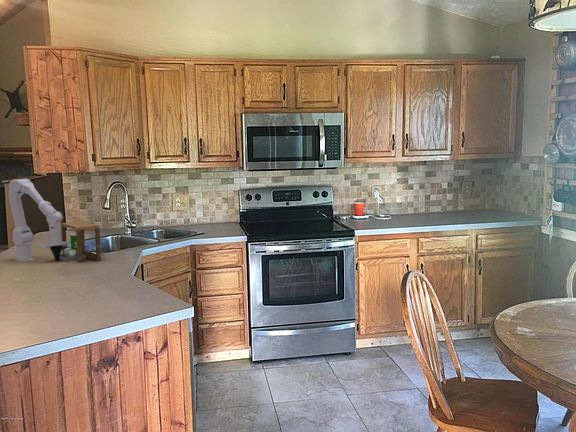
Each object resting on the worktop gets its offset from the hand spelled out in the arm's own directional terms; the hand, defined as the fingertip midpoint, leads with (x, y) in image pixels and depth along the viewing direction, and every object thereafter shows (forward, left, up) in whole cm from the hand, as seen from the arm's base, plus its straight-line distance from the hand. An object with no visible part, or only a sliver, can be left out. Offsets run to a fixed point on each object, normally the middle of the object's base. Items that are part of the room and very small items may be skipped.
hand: (56, 259), depth 274 cm
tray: (0, +7, -1) cm, 7 cm away
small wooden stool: (+2, +13, -1) cm, 13 cm away
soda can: (-17, +19, -1) cm, 25 cm away
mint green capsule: (+3, +7, 0) cm, 8 cm away
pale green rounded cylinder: (-3, +7, 0) cm, 8 cm away
